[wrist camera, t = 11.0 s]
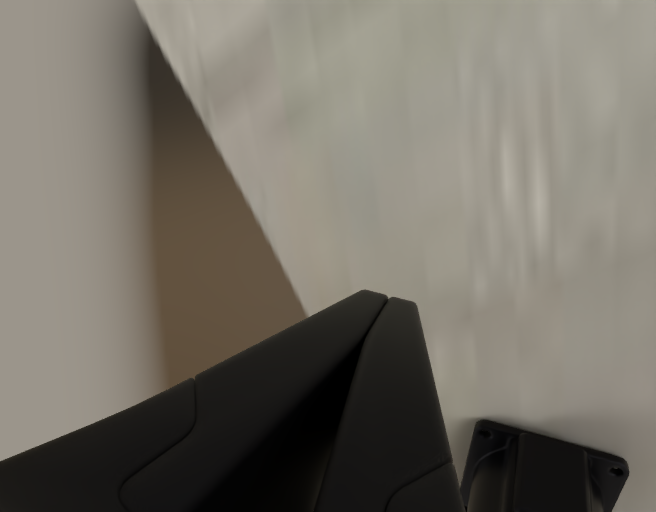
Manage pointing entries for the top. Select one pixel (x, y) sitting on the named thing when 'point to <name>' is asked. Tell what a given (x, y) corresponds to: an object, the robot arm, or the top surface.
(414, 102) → the top surface
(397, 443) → the robot arm
